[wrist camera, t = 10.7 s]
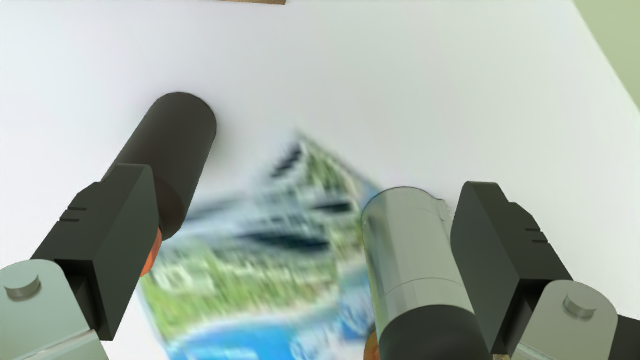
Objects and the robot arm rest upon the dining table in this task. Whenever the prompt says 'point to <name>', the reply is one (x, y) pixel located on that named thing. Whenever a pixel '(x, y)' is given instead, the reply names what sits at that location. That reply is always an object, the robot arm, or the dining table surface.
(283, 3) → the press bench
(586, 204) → the dining table surface
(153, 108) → the bottle
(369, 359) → the onion
